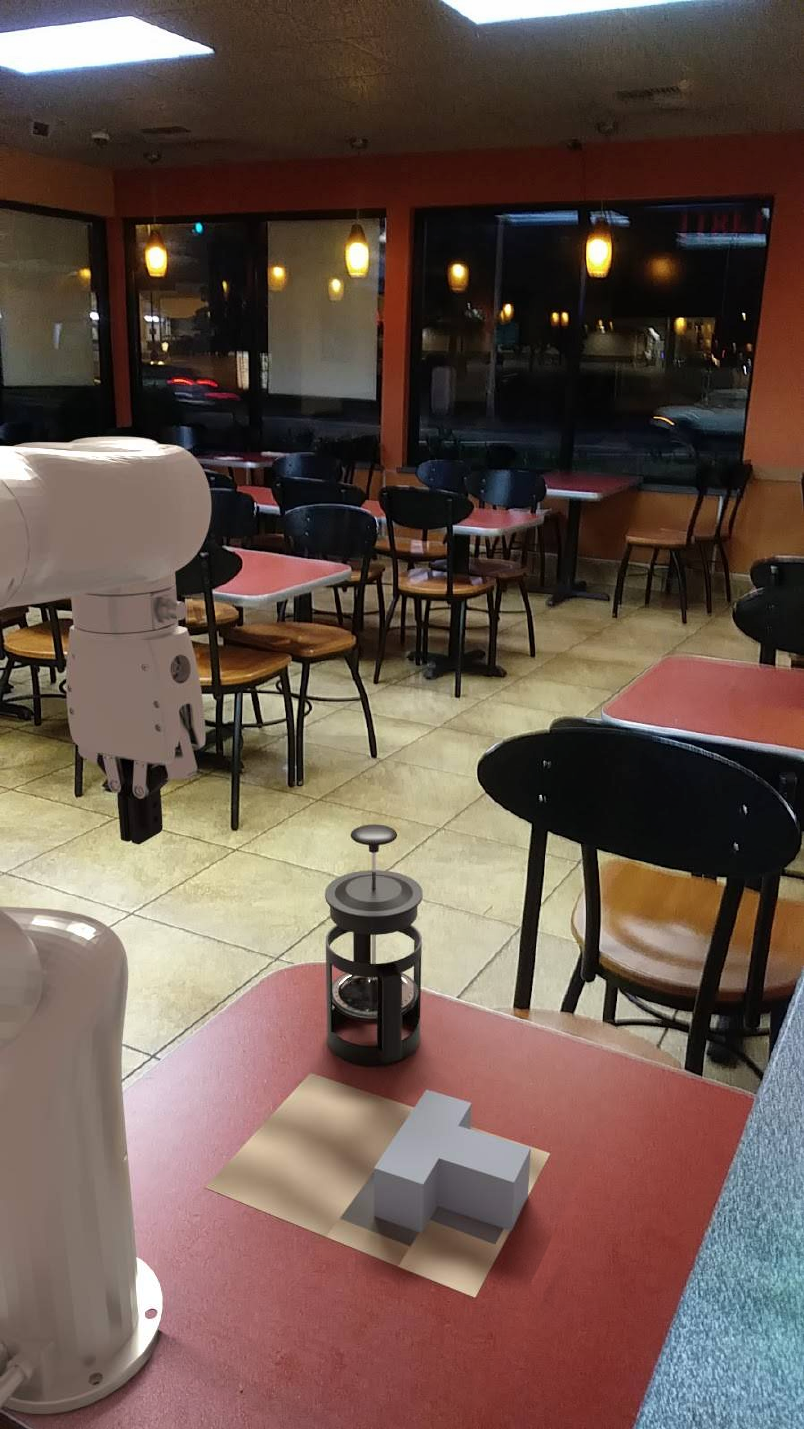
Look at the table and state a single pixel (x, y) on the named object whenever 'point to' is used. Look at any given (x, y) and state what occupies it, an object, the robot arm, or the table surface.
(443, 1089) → the table surface
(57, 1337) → the robot arm
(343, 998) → the french press
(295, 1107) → the board
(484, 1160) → the t block
